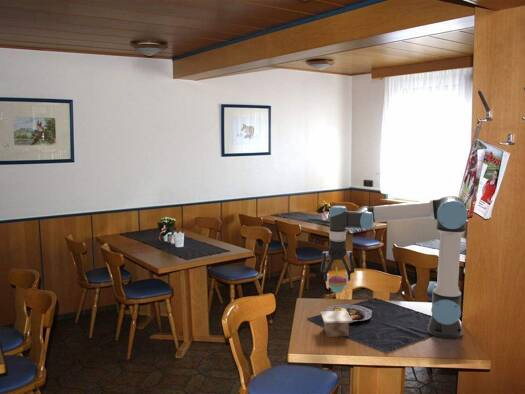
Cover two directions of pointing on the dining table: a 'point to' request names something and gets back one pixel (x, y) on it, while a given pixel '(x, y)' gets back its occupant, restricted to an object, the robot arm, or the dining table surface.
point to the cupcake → (337, 282)
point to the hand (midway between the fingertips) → (337, 287)
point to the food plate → (353, 311)
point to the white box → (336, 323)
